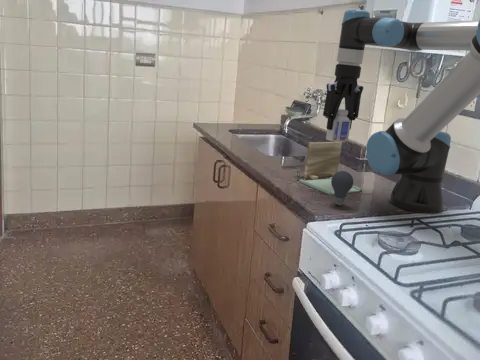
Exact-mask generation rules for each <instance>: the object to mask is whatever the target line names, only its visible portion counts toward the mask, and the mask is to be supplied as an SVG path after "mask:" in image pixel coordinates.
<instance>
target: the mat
mask: <svg viewBox="0 0 480 360" xmlns="http://www.w3.org/2000/svg"><path fill="white" fill-rule="evenodd" d="M331 180H332V177H329V178H318V180H312V179H307V180H305V179H299V183H301V184H303V185H305V186H308V187H310V188H312V189H314V190H316V191H320V192H321V193H323V194H326V195H329V196H333V195H334V189H333V187H332V184H331ZM362 191H363V188H361V187H358V186H356V185H354V184H353V186H352V188H351V189H350V190H349V191H348V193H347V194H349V193H350V194H351V193H359V192H362Z"/></svg>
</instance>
